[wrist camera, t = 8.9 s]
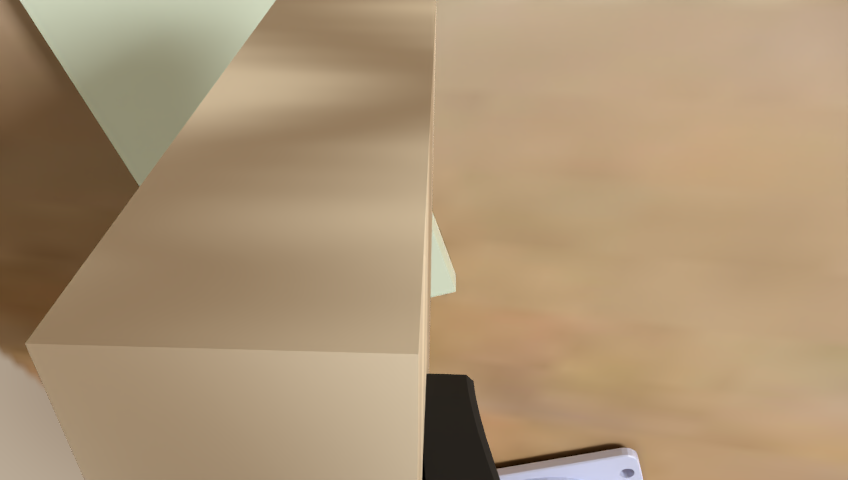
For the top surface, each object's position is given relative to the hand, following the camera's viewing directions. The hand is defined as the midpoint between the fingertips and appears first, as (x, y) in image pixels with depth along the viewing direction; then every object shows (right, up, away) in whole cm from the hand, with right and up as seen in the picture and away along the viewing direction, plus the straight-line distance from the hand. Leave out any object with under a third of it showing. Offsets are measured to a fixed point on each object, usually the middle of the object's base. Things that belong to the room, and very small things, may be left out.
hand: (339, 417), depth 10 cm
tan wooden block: (0, +3, +3) cm, 4 cm away
